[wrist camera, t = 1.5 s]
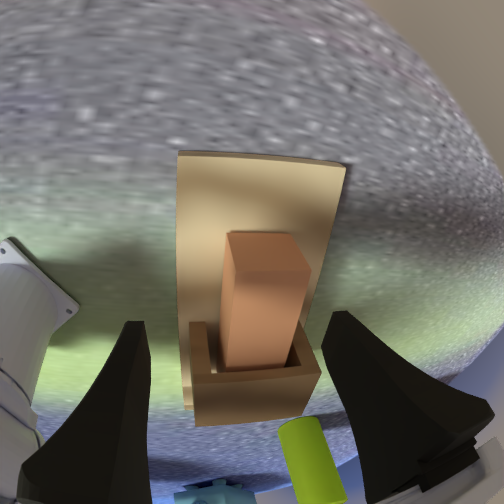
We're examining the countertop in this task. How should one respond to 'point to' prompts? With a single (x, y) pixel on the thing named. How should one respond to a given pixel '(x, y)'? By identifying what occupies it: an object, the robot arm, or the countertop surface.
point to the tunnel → (250, 384)
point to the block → (259, 300)
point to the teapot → (215, 494)
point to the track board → (243, 227)
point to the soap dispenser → (310, 462)
